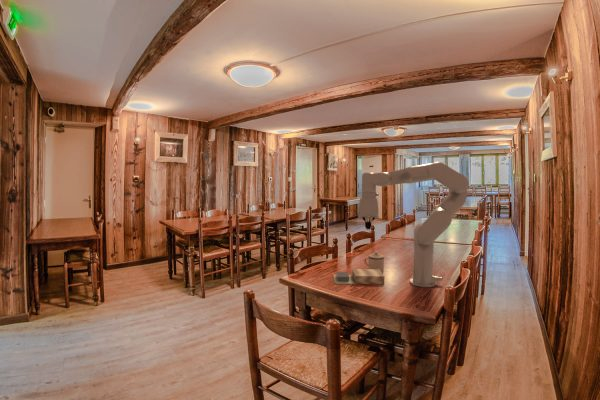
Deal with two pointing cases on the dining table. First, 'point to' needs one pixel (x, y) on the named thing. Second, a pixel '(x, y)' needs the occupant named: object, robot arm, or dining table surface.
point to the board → (367, 276)
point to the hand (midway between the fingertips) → (368, 229)
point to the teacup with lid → (375, 261)
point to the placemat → (343, 281)
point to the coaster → (342, 276)
